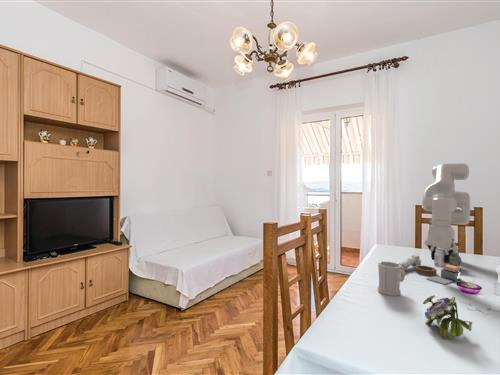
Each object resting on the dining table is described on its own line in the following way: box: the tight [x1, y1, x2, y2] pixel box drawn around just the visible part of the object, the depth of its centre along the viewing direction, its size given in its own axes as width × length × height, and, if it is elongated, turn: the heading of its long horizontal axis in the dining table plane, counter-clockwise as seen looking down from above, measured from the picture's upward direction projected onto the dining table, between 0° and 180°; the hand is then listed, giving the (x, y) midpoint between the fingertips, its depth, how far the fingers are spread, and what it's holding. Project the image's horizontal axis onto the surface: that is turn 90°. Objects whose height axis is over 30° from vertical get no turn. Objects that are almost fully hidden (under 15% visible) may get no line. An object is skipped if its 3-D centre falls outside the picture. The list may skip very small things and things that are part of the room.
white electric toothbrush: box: [398, 253, 422, 272], centre depth 151 cm, size 5×7×25 cm
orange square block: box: [442, 264, 460, 272], centre depth 135 cm, size 5×5×5 cm
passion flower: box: [422, 295, 473, 340], centre depth 87 cm, size 13×12×14 cm
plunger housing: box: [440, 268, 459, 283], centre depth 135 cm, size 6×6×4 cm
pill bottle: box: [433, 248, 446, 269], centre depth 132 cm, size 5×5×8 cm
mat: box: [426, 275, 455, 286], centre depth 132 cm, size 8×8×1 cm
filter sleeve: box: [414, 265, 437, 277], centre depth 144 cm, size 9×9×2 cm
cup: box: [377, 261, 406, 297], centre depth 118 cm, size 10×9×12 cm
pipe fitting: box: [446, 250, 462, 267], centre depth 151 cm, size 12×8×10 cm
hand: (440, 260), depth 132 cm, fingers closed on pill bottle, 4 cm apart
